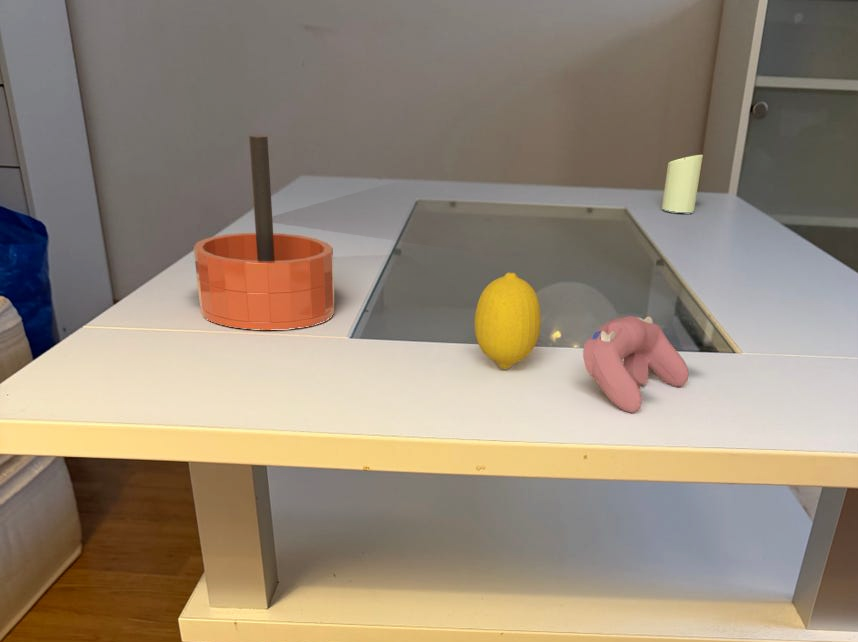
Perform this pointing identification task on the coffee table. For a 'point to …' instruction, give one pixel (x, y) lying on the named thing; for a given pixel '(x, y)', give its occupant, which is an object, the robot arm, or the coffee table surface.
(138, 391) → the coffee table surface
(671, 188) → the candle
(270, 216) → the ring toss peg
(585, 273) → the coffee table surface
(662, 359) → the video game controller
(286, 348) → the coffee table surface
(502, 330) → the lemon
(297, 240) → the bowl
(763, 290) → the coffee table surface
